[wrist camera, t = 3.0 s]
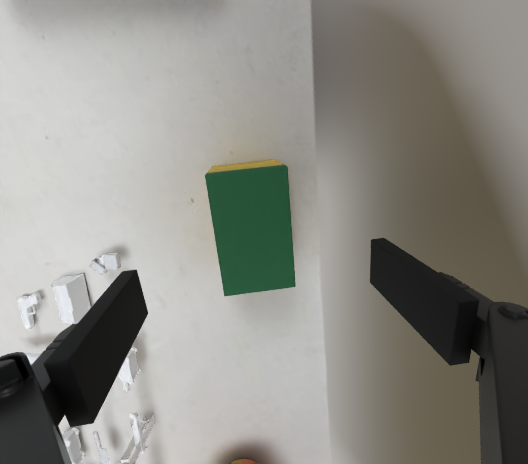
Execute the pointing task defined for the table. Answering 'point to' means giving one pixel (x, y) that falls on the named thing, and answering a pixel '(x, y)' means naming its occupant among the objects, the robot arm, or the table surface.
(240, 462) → the apple
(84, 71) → the table surface
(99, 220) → the table surface
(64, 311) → the miniature set
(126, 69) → the table surface
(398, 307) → the robot arm
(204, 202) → the table surface
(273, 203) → the sponge
